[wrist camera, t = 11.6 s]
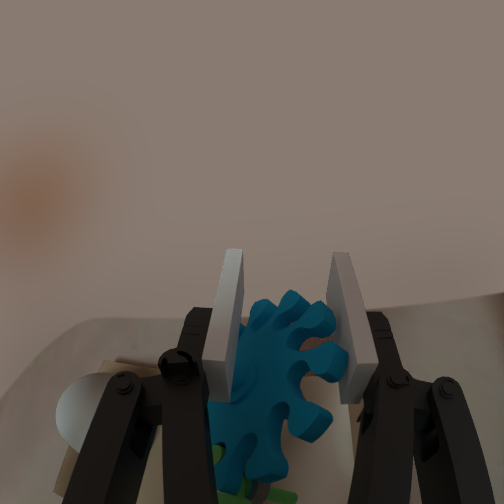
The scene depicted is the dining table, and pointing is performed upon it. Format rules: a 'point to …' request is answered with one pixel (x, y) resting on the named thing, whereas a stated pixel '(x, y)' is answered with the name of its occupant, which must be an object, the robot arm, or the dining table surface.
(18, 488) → the dining table surface
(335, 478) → the wooden board
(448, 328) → the dining table surface
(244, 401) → the gear
